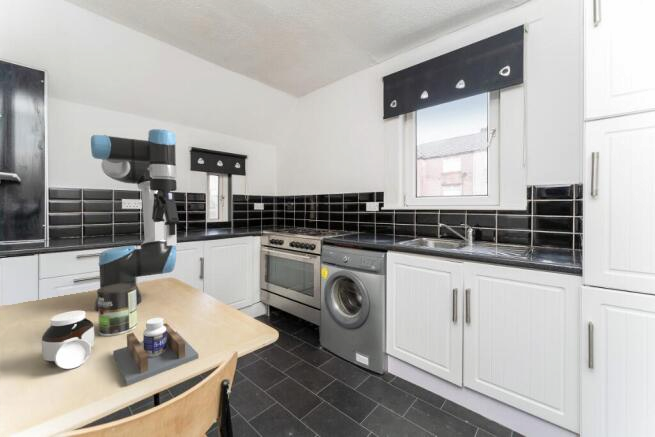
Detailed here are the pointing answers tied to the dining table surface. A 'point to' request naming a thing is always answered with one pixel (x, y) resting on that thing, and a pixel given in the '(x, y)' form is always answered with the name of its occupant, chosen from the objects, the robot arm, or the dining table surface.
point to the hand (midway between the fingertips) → (165, 242)
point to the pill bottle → (154, 337)
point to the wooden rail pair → (141, 356)
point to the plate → (151, 362)
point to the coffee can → (117, 309)
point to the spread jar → (68, 340)
